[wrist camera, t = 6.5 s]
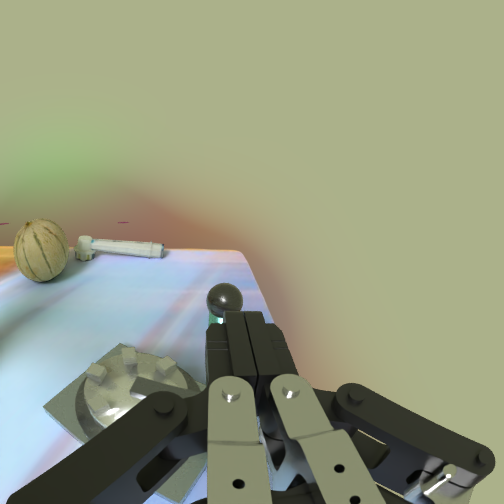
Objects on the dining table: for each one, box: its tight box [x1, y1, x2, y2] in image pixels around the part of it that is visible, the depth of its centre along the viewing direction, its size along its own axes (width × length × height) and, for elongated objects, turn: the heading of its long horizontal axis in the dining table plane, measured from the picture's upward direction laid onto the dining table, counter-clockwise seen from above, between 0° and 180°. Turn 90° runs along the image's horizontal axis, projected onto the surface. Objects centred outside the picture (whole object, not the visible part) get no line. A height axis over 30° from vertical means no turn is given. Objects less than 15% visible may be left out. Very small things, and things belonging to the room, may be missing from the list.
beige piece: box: [74, 236, 164, 261], centre depth 74 cm, size 5×7×25 cm
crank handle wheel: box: [84, 283, 243, 430], centre depth 28 cm, size 18×13×19 cm
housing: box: [43, 343, 207, 504], centre depth 32 cm, size 22×18×4 cm
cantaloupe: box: [14, 219, 69, 282], centre depth 56 cm, size 15×15×15 cm
